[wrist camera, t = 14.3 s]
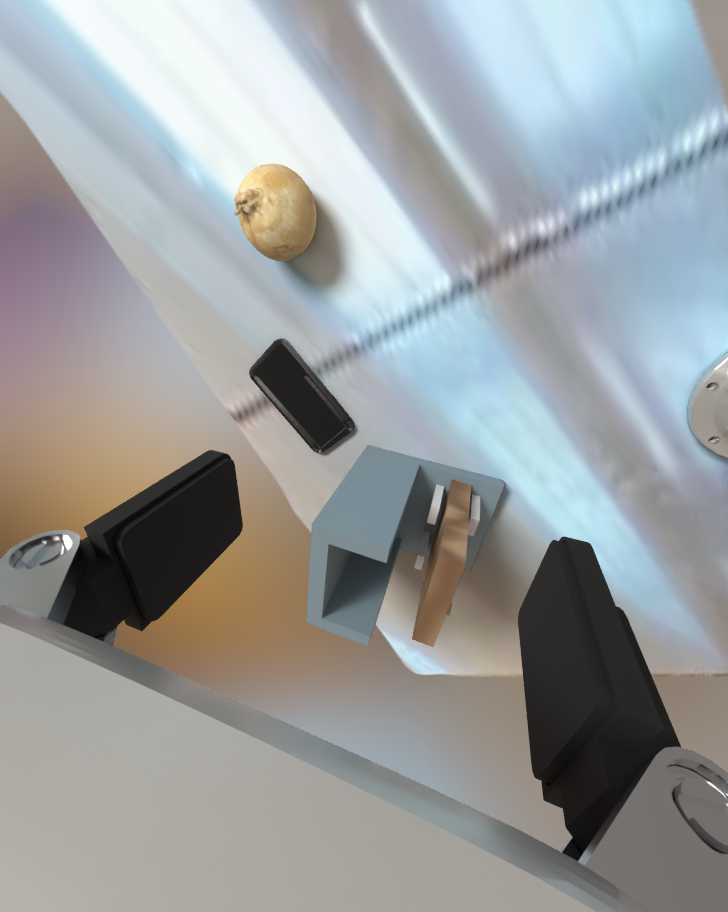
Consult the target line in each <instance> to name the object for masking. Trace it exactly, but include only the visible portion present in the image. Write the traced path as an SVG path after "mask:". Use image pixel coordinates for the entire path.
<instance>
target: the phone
mask: <svg viewBox="0 0 728 912" xmlns="http://www.w3.org/2000/svg"><path fill="white" fill-rule="evenodd" d="M249 374H250V377H251V379H252V380H253V381H254V383H255V384H256V385H257V386H258V387H259V388H260V389H261V391H262V392H263V393H264V394H265V395H266V396H267V398H268V399H269V400H270V401H271V402H272V403H273V405H274V406H275V407H276V408H277V409H278V410H279V412H280V413H281V414H282V415H283V416H284V417H285V419H286V420H287V421H288V422H289V423H290V424H291V425H292V427H293V428H294V429H295V430H296V431H297V432H298V434H299V435H300V436H301V437H302V438H303V439H304V441H305V442H306V443H307V444H308V445H309V446H310V448H311V449H312V450H313V451H314V452H316V453H322V452H324V451H325V450H327V449H328V448H329V447H331V446H332V445H333V444H335V443H336V442H337V441H339V440H340V439H341V438H343V437H344V436H345V435H347V434H348V433H350V431H351V430H352V429H353V427H354V423H353V421H352V419H351V418H350V417H349V415H348V414H347V413H346V412H345V410H344V409H343V408H342V407H341V405H340V404H339V403H338V402H337V401H336V399H335V398H334V397H333V395H331V393H330V392H329V391H328V390H327V388H326V387H325V386H324V385H323V384H322V382H321V381H320V380H319V379H318V377H317V376H316V375H315V374H314V372H313V371H312V370H311V369H310V368H309V366H308V365H307V364H306V363H305V361H304V360H303V359H302V358H301V357H300V355H299V354H298V353H297V352H296V350H295V349H294V348H293V347H292V346H291V344H290V343H289V342H288V341H287V340H285V339H278V340H276V341H274V342H273V344H272V345H271V346H270V347H269V348H268V349H267V350H266V351H265V353H264V354H263V355H262V356H261V357H260V358H259V359H258V360H257V362H256V363H255V364H254V365H253V366H252V367H251V369H250V371H249Z"/></svg>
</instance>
